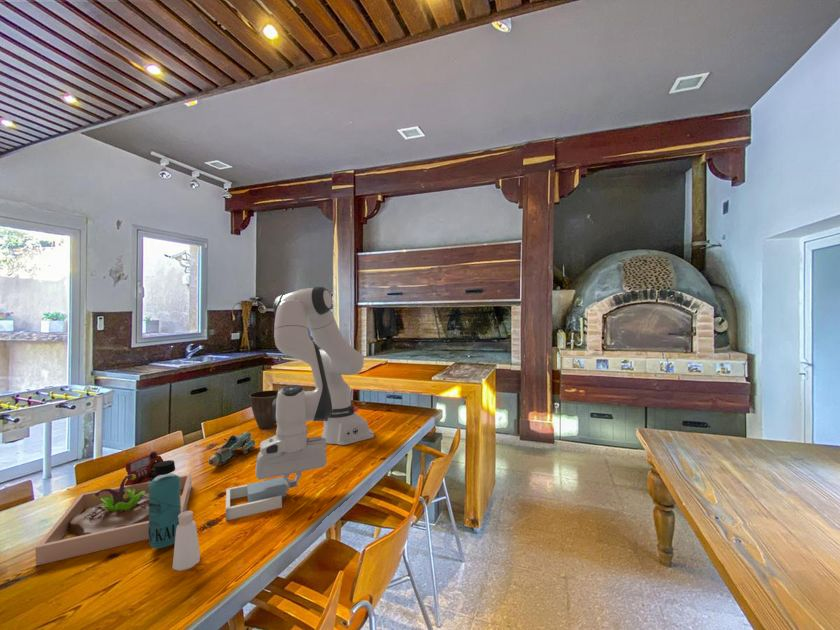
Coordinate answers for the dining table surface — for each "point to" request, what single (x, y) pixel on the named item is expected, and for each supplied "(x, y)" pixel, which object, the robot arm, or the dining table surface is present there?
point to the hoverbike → (232, 448)
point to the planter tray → (71, 547)
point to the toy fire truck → (143, 468)
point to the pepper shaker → (186, 543)
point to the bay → (248, 507)
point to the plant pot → (263, 408)
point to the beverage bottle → (163, 505)
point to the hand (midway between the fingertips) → (292, 486)
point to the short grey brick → (267, 489)
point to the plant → (113, 511)
